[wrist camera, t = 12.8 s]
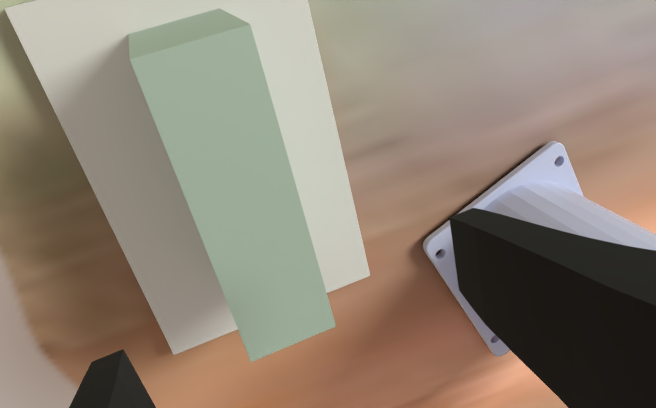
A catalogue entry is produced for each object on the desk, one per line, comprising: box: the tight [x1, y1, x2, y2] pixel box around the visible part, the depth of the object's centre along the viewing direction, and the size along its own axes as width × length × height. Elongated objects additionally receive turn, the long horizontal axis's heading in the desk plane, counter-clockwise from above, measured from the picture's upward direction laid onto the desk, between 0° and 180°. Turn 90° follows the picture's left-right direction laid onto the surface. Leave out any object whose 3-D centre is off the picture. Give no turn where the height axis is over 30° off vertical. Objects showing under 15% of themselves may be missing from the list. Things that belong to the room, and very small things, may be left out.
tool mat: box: [5, 0, 370, 355], centre depth 20 cm, size 14×9×1 cm, turn 14°
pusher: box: [128, 8, 336, 362], centre depth 17 cm, size 10×3×5 cm, turn 15°
